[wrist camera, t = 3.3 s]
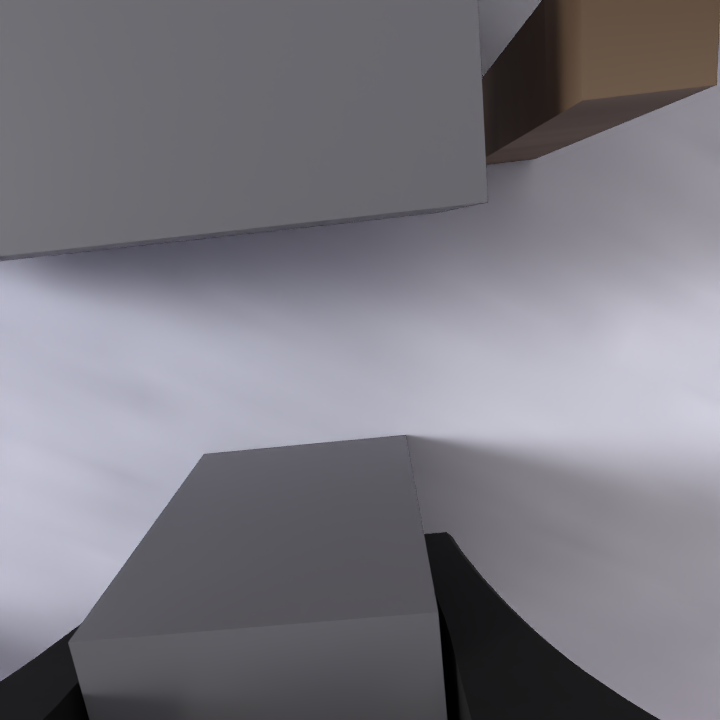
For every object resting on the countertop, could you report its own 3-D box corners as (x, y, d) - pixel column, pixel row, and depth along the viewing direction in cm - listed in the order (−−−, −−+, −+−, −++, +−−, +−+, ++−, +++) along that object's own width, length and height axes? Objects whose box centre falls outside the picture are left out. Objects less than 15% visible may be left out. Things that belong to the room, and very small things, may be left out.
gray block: (423, 632, 13) (463, 922, 7) (240, 647, 13) (150, 943, 8) (405, 434, 12) (437, 611, 6) (204, 454, 12) (67, 643, 6)
